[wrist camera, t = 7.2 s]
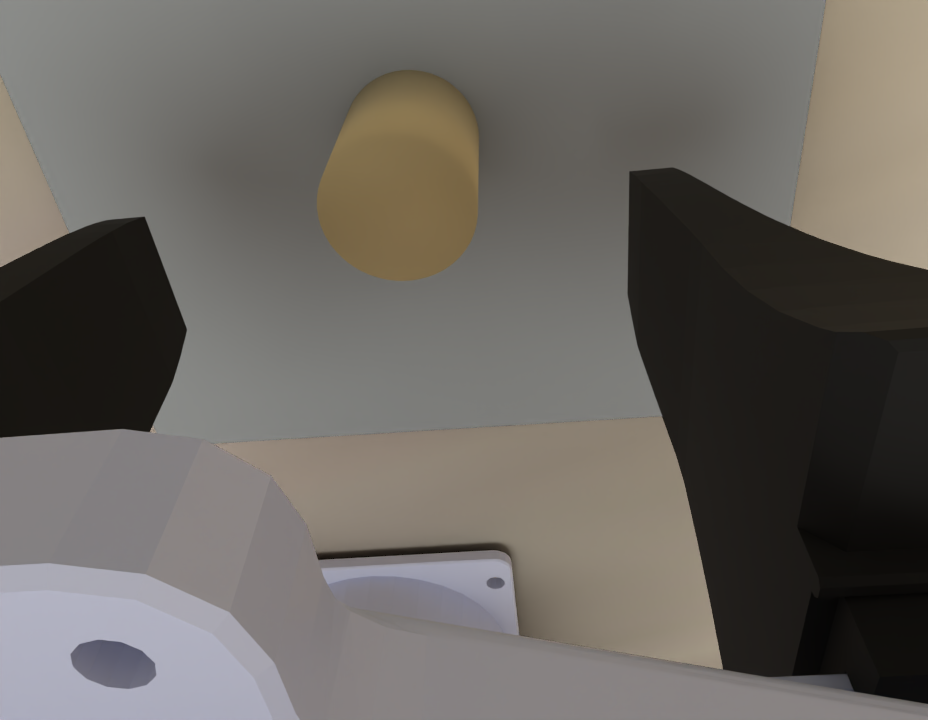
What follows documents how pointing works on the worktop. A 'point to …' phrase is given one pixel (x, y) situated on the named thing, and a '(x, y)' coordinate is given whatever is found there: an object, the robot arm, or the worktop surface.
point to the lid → (403, 187)
